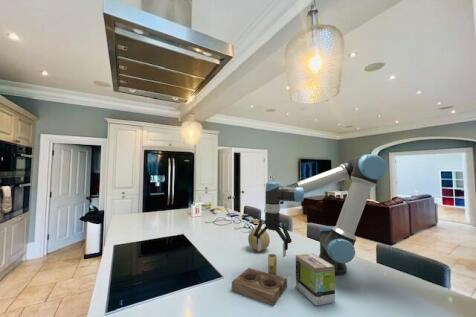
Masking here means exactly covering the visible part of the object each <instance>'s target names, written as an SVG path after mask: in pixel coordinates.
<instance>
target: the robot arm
mask: <svg viewBox="0 0 476 317" xmlns="http://www.w3.org/2000/svg"><path fill="white" fill-rule="evenodd" d="M387 168H388V167H387V163H386V162H385V159H383V158H382V157H381V156H379V155H377V154H371V153H369V154H368V153H367V154H363V155H358V156H355V157H353V158H351V159H349V160H347V161H345V162H343V163H340V164H339V166H337V167H334V168H331V169H329V170H327V171H323V172H321V173H318V174H316V175H313V176H311V177H307V178H305V179H302V180H299V181H297V182H294V183H291V184H288V185H285V186H283V185H281V182H279V181H278V182H277V181H269V182H266V183H265V198H264V200H265V202H264V203H265V207H264V208H265V209H264V211H265V213H264V219H262V218H261V219H259V222H258V225H257V226H256V227H257V229H256V228H255V229H256V231H255V233H254V236H255V237H257V244H258V251H257V252H261V251H260V250H261V243H262V237H261V235H262V234H263V233H264V232H265V231H266V232H267V230H269V231H273V232H276V233H277V234H278V236H279V237H280V239H281V240H282V241H283V243H282V258H285V257H286V256H287V251H288V249H289V244H291V243H293V240H292V238H291V235H290V233H289V231H288V229H287V225H286V222H280V217H281V216H280V214H281V213H280V208H281V207H280V206H281V203H280V202H293V203H294V202H296V203H298V202H300V203H302V202H304V199H305V194H307V193H311V192H313V191H316V190H319V189H322V188H324V187H327V186H330V185H333V184H336V183H339V182H342V181H344V180H346V181H349V180H351V184H350V187H349V189H348V192H347V195H346V197H345V200H344V203H343V205H342V208H341V211H340V214H339V216H338V219H337V221H336V225H335V226H334V225H333V226H332V225H331V226H330V225H321V226H320V228H319V255H318V257H320V258H322V259H323V260H325V261H327V262H329V263H330V264H332V265H334V266H335V277H336V276H339V277H340V276H345V275H346V274H347V273H348V268H347V265H346V264H347V263H350V262H352V261H353V259H354V258H355V255H356V249H355V244H356V241H357V237H356V235H355V233H356V230H357V227H358V225H359V222H360V220H361V217H362V215H363V211H364V209H365V208H366V207H365V206H366V204H367V201H368V198H369V196H370V193H371V191H372V190H371V189H372V188H373V187H376V186H377V185H378V183H379V180H380V179H381V178H383V177H384V176H385V174H386V173H387V170H388V169H387ZM263 224H264V225H265V226H264V228H262V226H263ZM260 228H262V229H263V230H262V231H261V232H260V233H259V234H258V232H259V230H260Z"/></svg>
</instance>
